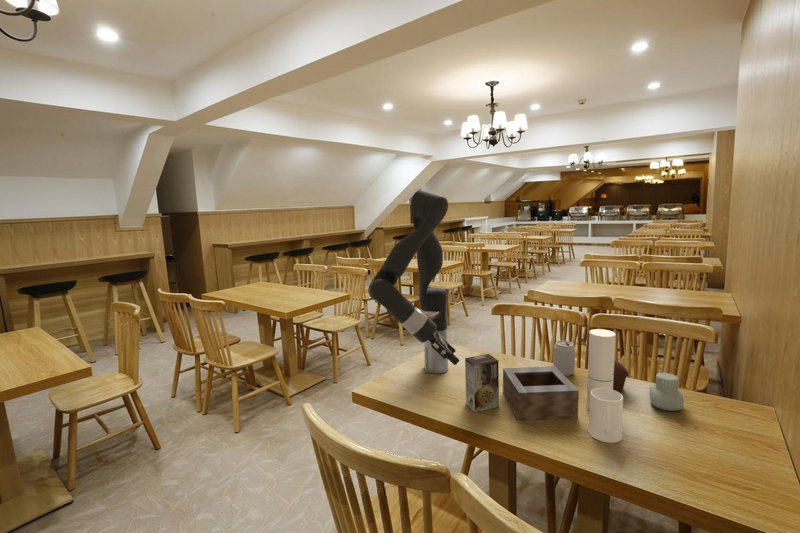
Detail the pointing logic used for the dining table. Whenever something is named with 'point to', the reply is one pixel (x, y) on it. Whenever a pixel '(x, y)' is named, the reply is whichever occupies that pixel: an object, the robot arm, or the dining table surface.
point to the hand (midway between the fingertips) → (455, 357)
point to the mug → (606, 415)
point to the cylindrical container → (600, 360)
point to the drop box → (540, 393)
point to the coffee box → (482, 382)
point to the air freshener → (666, 393)
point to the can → (564, 357)
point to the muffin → (619, 376)
